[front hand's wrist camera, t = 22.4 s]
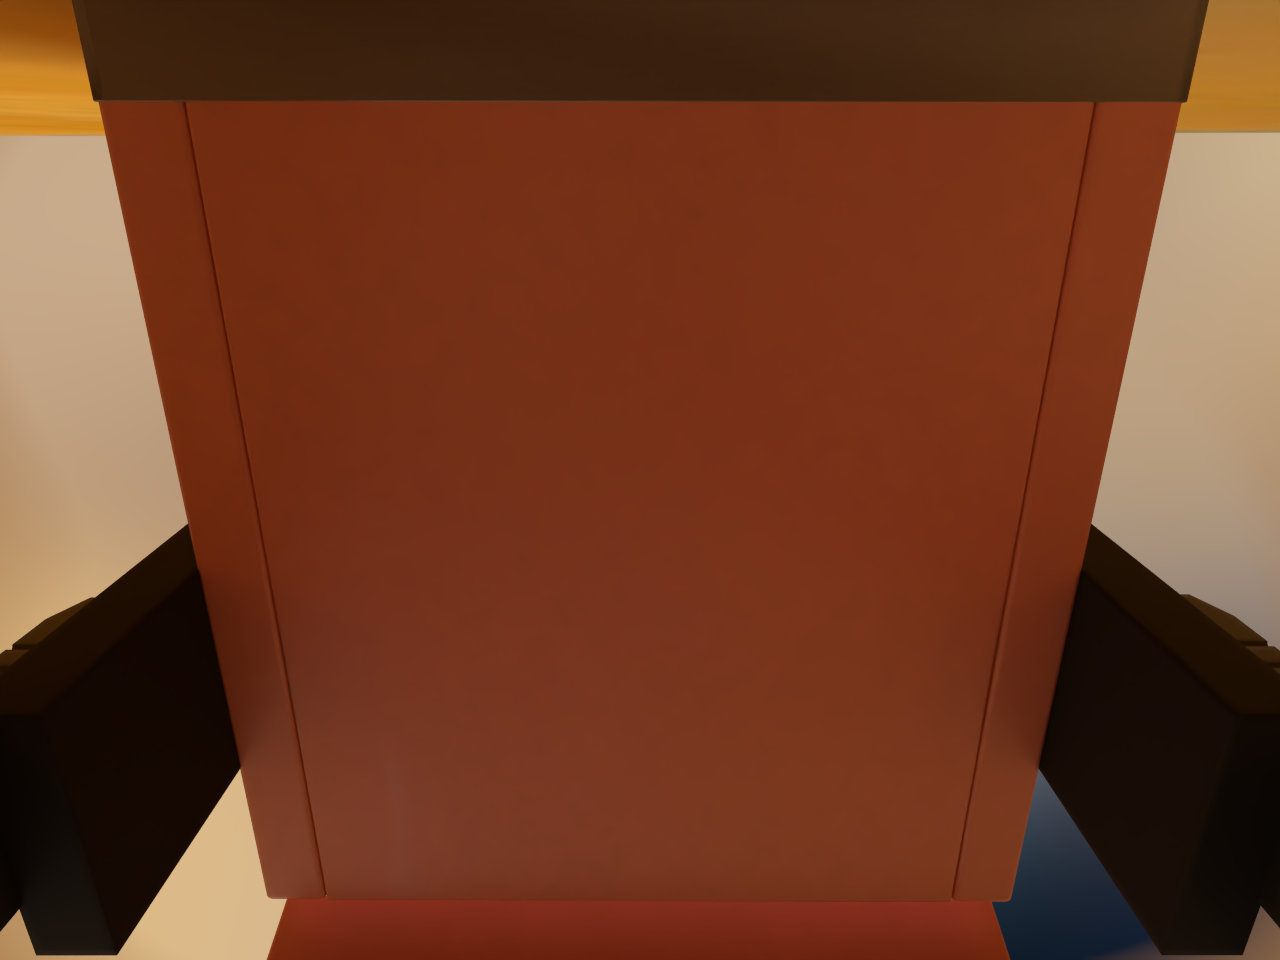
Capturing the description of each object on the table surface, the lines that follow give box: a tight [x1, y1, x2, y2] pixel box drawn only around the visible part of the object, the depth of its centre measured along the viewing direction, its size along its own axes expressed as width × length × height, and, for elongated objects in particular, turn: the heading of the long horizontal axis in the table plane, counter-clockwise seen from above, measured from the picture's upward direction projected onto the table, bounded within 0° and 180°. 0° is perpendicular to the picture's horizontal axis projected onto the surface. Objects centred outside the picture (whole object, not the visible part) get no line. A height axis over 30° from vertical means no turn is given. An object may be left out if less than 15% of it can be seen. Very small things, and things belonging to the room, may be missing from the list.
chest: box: [72, 0, 1209, 902], centre depth 15 cm, size 14×10×10 cm
